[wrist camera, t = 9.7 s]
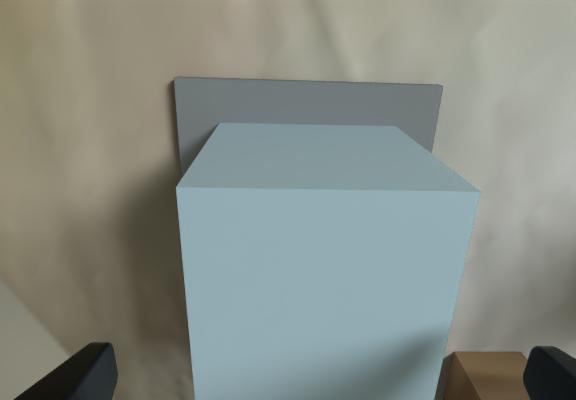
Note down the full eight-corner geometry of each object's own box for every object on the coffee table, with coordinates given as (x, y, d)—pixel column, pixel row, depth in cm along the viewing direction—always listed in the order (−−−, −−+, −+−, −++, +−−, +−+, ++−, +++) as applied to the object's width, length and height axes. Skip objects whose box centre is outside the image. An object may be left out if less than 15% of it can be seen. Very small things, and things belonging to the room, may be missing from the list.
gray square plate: (401, 299, 19) (404, 305, 19) (192, 296, 19) (190, 302, 18) (438, 84, 15) (443, 86, 15) (177, 76, 15) (173, 77, 15)
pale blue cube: (376, 275, 18) (431, 410, 12) (226, 273, 18) (196, 410, 11) (395, 126, 15) (480, 191, 9) (219, 122, 15) (175, 187, 9)
